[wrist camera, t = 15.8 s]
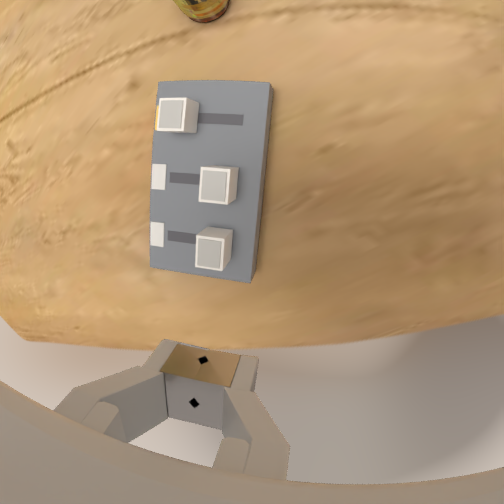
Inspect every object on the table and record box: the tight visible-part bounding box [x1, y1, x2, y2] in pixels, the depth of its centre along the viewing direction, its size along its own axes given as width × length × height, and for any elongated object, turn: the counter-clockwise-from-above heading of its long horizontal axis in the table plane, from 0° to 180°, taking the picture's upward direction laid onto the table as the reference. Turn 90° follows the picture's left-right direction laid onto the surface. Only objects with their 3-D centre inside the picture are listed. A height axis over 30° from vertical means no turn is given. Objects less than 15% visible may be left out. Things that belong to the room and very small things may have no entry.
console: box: [150, 80, 273, 283], centre depth 37 cm, size 13×23×4 cm, turn 175°
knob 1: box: [157, 98, 199, 133], centre depth 31 cm, size 3×4×4 cm
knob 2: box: [199, 165, 239, 205], centre depth 33 cm, size 3×4×4 cm
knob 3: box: [195, 227, 233, 271], centre depth 35 cm, size 3×4×4 cm
